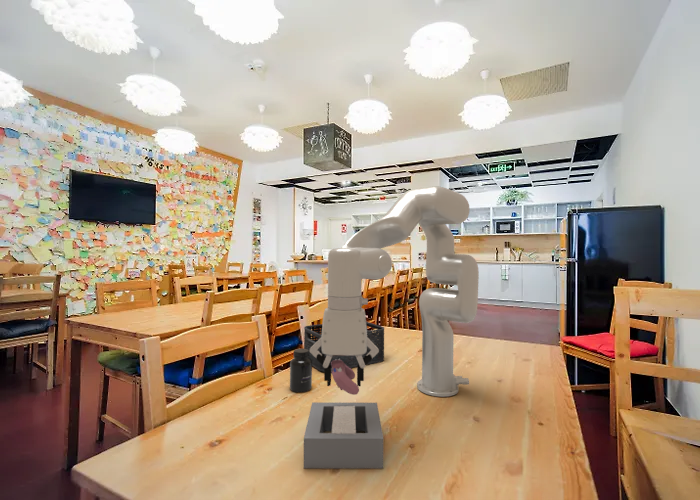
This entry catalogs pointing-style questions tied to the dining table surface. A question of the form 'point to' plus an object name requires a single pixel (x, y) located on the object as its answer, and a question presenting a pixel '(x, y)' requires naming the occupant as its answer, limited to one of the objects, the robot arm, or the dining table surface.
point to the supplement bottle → (301, 371)
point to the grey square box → (343, 438)
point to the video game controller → (344, 377)
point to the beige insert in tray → (344, 420)
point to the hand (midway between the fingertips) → (343, 383)
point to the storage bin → (349, 361)
